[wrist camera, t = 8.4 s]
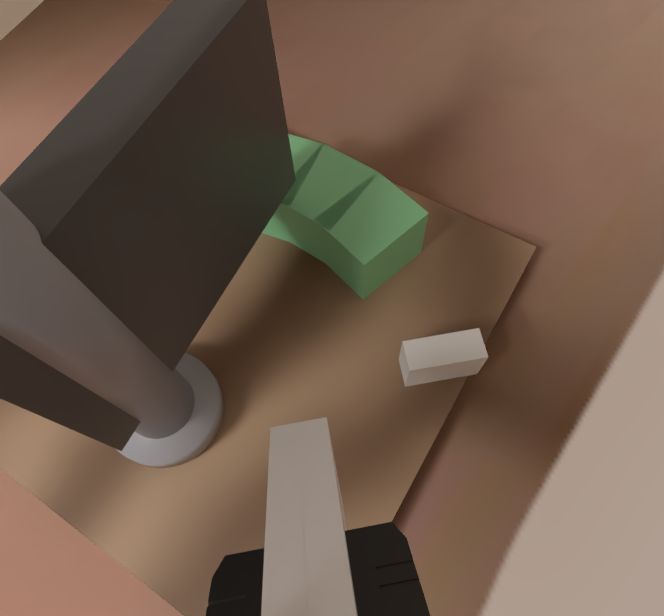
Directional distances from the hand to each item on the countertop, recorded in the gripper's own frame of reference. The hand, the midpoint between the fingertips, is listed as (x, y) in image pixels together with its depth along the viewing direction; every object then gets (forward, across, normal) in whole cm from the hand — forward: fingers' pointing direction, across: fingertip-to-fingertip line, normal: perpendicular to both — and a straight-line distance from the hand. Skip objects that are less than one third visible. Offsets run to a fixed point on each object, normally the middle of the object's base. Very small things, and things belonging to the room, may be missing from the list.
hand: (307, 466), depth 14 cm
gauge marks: (+11, +3, +2) cm, 12 cm away
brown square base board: (+11, -2, 0) cm, 11 cm away
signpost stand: (+10, -3, +2) cm, 10 cm away
